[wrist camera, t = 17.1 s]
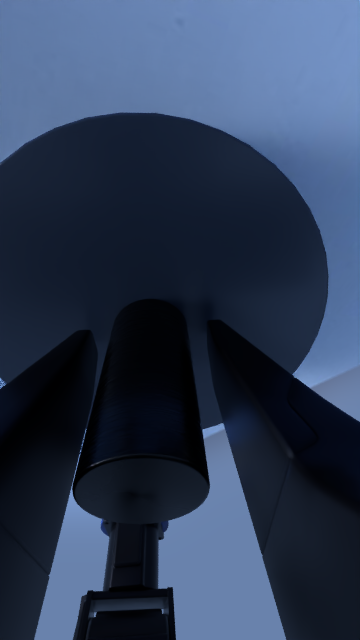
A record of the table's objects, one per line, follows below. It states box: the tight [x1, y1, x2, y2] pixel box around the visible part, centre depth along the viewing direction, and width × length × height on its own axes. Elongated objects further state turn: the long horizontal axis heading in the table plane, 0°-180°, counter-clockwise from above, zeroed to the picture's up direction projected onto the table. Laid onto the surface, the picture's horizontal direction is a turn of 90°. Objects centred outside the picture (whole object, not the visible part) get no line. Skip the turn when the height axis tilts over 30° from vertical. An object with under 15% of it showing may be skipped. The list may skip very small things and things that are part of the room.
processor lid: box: [0, 113, 328, 524], centre depth 7 cm, size 11×11×6 cm
